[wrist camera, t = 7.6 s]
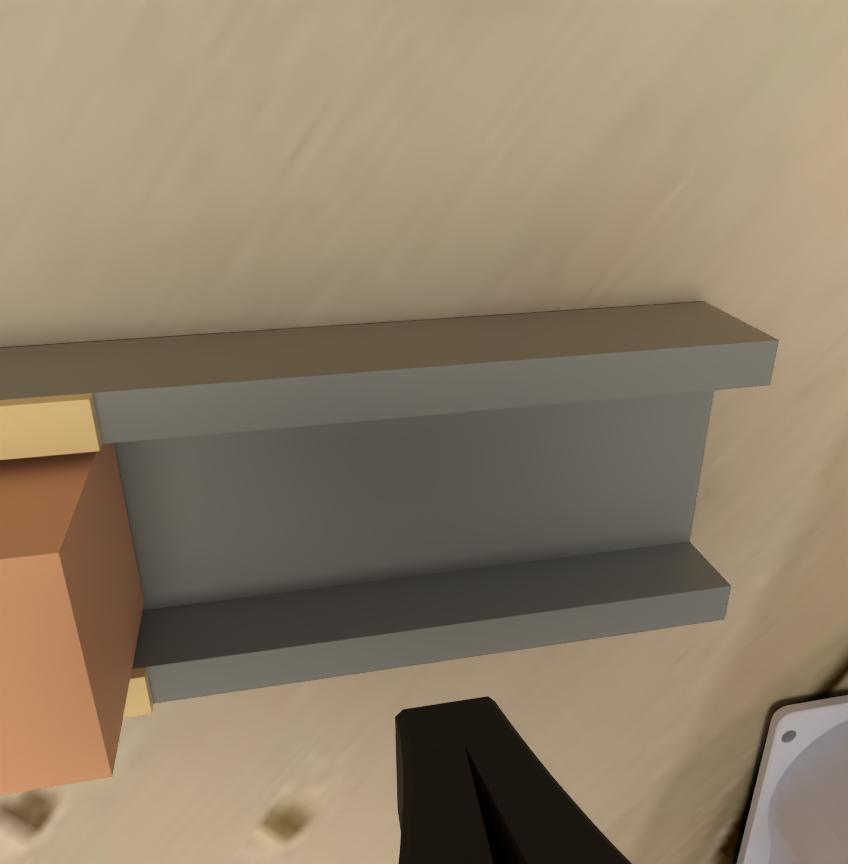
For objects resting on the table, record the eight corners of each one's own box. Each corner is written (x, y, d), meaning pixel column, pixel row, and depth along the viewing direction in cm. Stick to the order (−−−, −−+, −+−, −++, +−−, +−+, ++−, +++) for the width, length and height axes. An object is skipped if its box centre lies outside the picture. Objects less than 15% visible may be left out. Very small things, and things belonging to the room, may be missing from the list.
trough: (703, 301, 19) (843, 373, 15) (666, 552, 22) (772, 675, 18) (-234, 362, 15) (-427, 483, 11) (-124, 653, 18) (-240, 840, 14)
